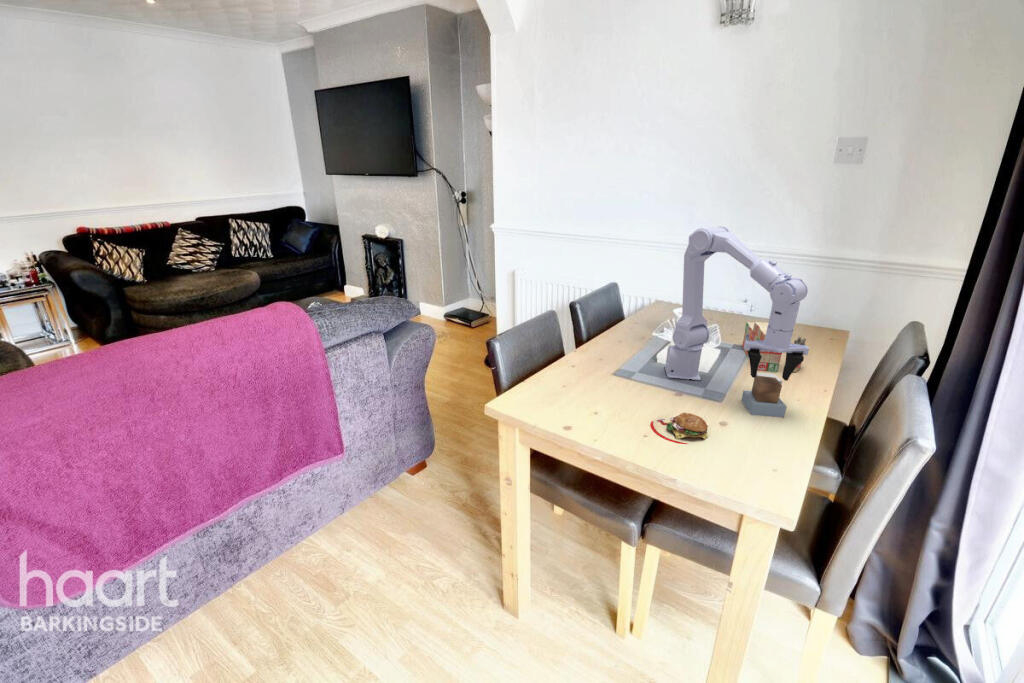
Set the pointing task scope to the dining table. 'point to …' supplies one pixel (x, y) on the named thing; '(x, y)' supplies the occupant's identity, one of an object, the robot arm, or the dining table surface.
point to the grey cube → (769, 376)
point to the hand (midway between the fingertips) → (768, 377)
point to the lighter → (802, 342)
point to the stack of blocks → (768, 357)
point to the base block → (762, 406)
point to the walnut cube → (766, 389)
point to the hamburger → (684, 427)
